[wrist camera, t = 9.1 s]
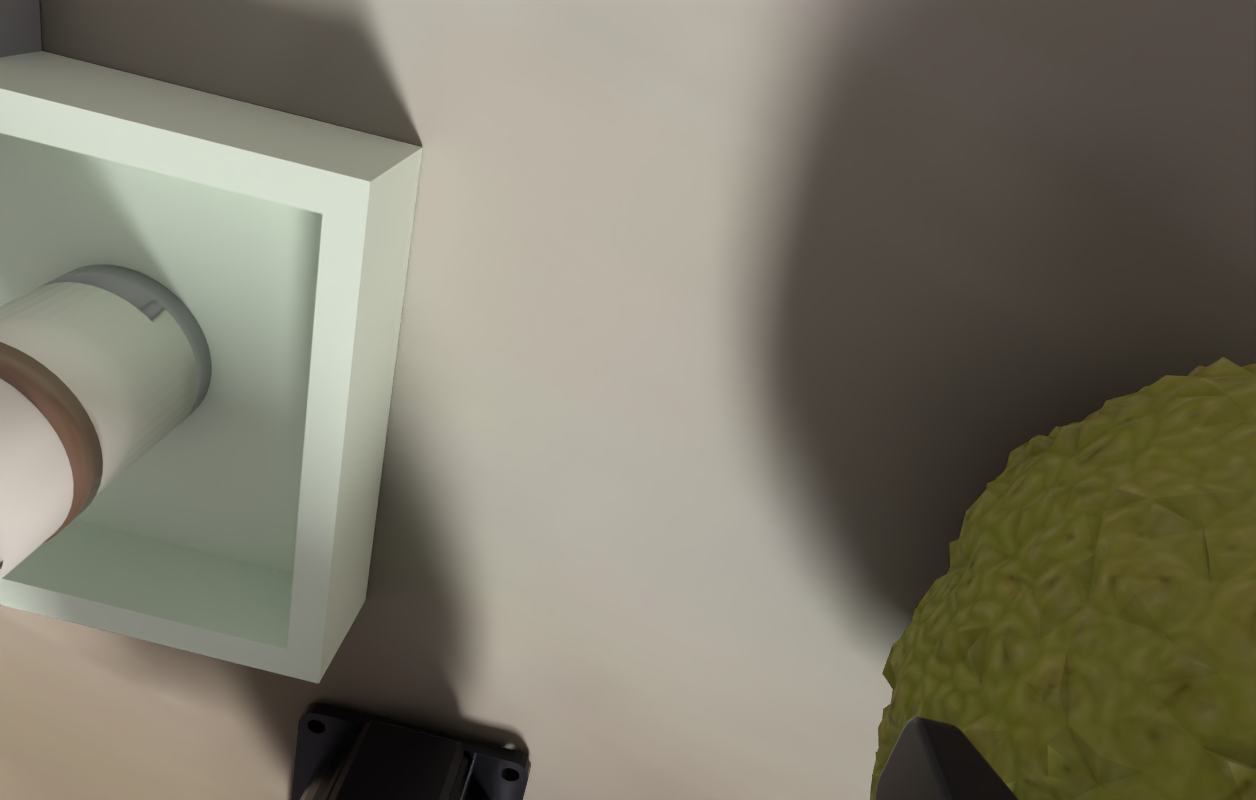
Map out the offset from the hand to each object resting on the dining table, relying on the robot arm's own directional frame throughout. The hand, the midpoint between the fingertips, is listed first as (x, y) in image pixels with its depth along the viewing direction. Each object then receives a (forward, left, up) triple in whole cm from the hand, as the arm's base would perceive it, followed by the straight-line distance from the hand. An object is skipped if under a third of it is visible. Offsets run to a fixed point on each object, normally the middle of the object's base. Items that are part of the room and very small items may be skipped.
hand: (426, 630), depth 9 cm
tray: (-5, +10, -12) cm, 17 cm away
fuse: (-5, +10, -12) cm, 16 cm away
